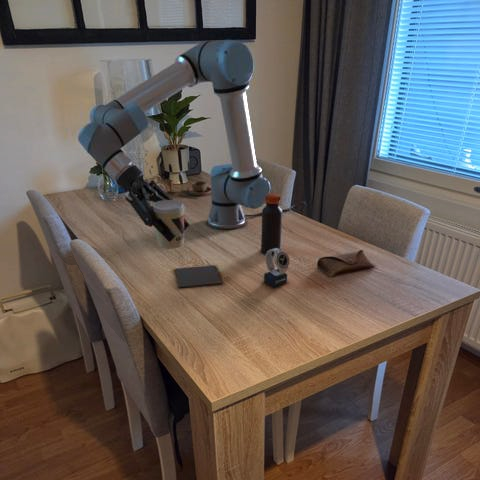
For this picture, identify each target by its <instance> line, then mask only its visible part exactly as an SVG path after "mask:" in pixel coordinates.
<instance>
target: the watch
mask: <svg viewBox="0 0 480 480" xmlns="http://www.w3.org/2000/svg"><path fill="white" fill-rule="evenodd" d="M272 251H274V252H275V253H274V255H271V254H272ZM273 256H274V258H273ZM265 264H266V268H267V270H268V272H265V273H264V274H263V284H265V285H267V286H269V287H270V288H272V289H274V288H278V287H279V286H282V285H285V284H287V282H288V273H287V270H288V268H289V265H290V257H289V255H288V253H286V252H285V251H284V250H282V249H281V248H280V249H279V248H274V249H271V250H268V251H267V253H266V254H265ZM275 266H276V267H277V269H276V268H275Z"/></svg>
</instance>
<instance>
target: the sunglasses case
mask: <svg viewBox="0 0 480 480" xmlns="http://www.w3.org/2000/svg"><path fill="white" fill-rule="evenodd" d="M316 264H317V265H316V266H317V268H318V270H320V271H321V272H322V273H323V274H325V275H327V276H329V277H334V276H337V275H341V274H347V273H352V272H357V271H362V270H366V269H370V268H374V267H375V265H374V264H372V262H371V261H370V260H369V258H368V257H367V255H366V254H365V253H364V250H363V249H360V250H355V251H351V252H345V253H340V254H334V255H330V256H329V255H328V256H323V257H320V258H318V259H317V263H316Z"/></svg>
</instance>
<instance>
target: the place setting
mask: <svg viewBox="0 0 480 480" xmlns="http://www.w3.org/2000/svg"><path fill="white" fill-rule="evenodd" d="M173 184H174V182H173V179H167V186H168V187H169V191H167V194H174V193H175V192H174V191H173V189H172V186H173ZM187 193H188V194H189V196H188V195H184V194H182V193H179V195H180V196H182V197H187V198H191V199H195V196H196V197H204V196H207V195H211V187H209V186H207V182H206V181H193V182H192V184H191V187H189V188H188V189H187ZM190 195H191V196H190Z"/></svg>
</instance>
